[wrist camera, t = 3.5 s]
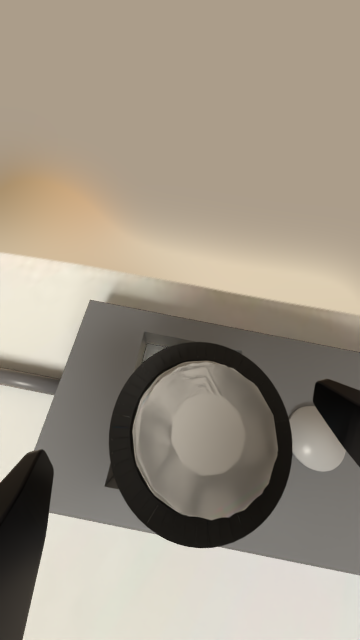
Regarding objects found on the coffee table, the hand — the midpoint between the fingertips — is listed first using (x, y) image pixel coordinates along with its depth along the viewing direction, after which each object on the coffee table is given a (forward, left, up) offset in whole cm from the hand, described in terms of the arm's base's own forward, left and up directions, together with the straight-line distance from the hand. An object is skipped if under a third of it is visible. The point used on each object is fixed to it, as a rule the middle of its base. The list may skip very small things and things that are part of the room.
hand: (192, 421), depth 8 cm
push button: (0, 0, -8) cm, 8 cm away
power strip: (0, 0, -8) cm, 8 cm away
